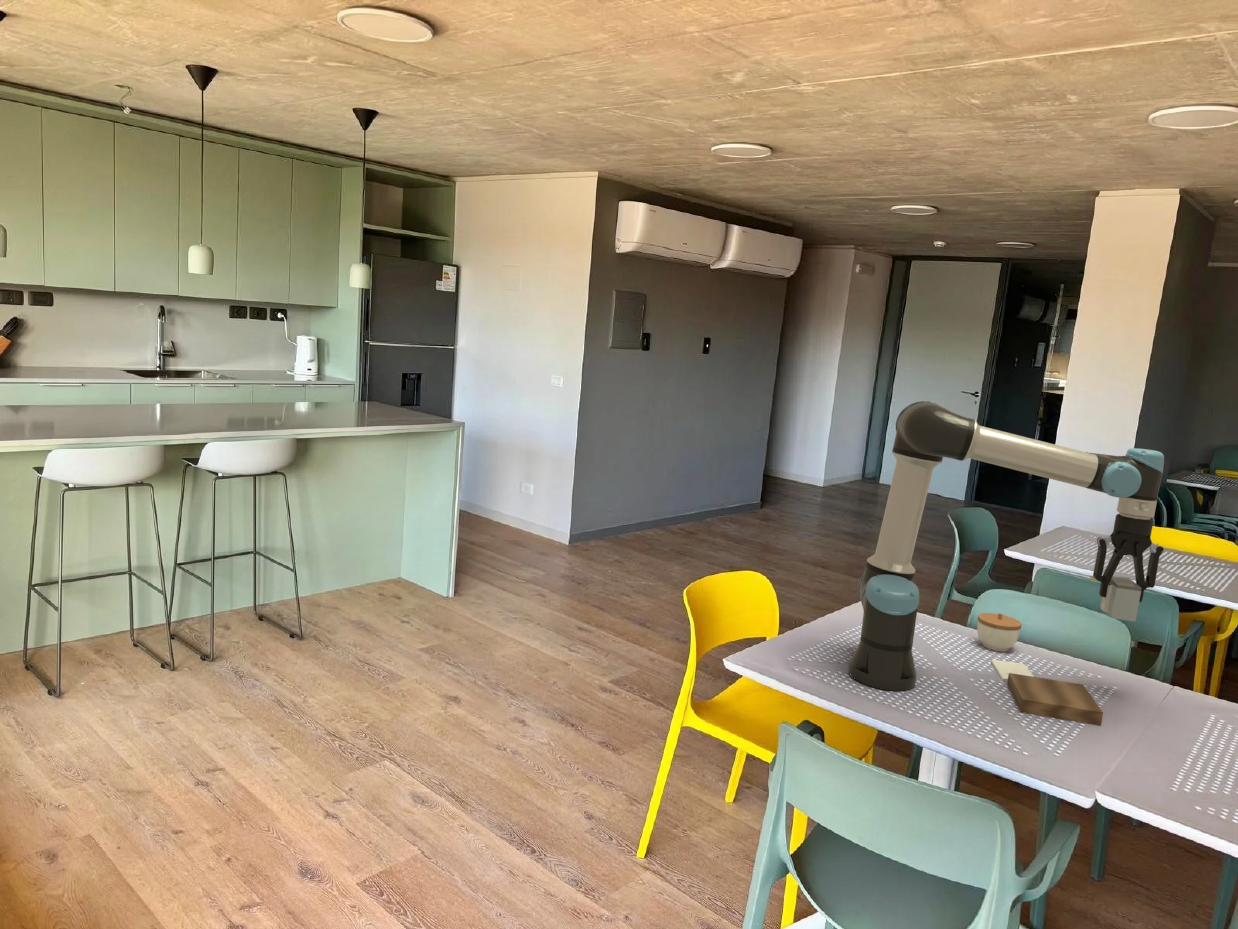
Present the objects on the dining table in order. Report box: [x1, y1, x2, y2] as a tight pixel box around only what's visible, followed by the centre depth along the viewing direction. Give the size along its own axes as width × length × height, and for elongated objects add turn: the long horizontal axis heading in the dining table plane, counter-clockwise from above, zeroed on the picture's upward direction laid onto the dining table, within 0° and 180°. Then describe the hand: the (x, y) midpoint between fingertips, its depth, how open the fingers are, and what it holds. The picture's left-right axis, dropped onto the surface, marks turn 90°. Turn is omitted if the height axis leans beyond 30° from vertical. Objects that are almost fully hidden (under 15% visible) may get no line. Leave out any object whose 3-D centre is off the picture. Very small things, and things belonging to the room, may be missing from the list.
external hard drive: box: [990, 659, 1035, 683], centre depth 209 cm, size 2×8×12 cm
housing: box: [1099, 575, 1142, 622], centre depth 200 cm, size 5×9×8 cm, turn 166°
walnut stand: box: [1006, 673, 1104, 726], centre depth 192 cm, size 16×16×3 cm
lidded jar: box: [976, 612, 1022, 652], centre depth 228 cm, size 11×11×9 cm
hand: (1117, 612), depth 200 cm, fingers closed on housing, 5 cm apart
